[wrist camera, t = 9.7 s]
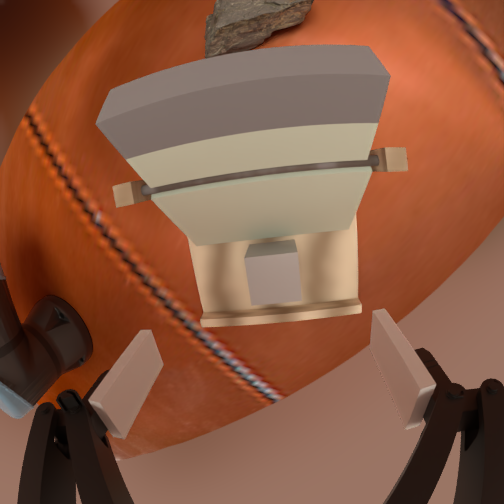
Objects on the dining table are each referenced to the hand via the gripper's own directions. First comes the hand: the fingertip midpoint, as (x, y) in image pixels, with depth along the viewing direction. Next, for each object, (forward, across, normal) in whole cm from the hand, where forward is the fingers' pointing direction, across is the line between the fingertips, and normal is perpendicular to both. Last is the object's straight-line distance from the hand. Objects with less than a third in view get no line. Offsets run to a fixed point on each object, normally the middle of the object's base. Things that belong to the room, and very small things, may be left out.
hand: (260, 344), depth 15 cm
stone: (+17, +1, +1) cm, 17 cm away
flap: (+12, +1, +11) cm, 16 cm away
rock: (+21, +3, +30) cm, 37 cm away
